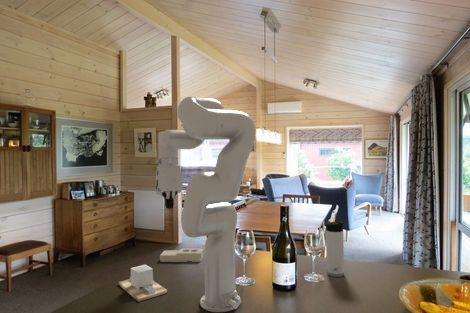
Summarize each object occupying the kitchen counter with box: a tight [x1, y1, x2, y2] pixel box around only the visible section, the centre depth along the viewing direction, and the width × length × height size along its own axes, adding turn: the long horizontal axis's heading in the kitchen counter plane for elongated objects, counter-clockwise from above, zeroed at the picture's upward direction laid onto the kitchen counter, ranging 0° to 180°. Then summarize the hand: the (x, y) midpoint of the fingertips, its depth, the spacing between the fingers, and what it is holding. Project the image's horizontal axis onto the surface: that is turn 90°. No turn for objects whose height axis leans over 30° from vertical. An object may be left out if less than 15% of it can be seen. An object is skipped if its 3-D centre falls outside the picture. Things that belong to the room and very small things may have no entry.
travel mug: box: [325, 221, 345, 278], centre depth 124 cm, size 6×7×20 cm
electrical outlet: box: [159, 248, 204, 263], centre depth 145 cm, size 7×4×18 cm
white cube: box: [130, 264, 154, 290], centre depth 114 cm, size 6×6×6 cm
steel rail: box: [129, 276, 156, 294], centre depth 114 cm, size 16×2×1 cm, turn 39°
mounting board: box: [118, 278, 168, 303], centre depth 114 cm, size 18×10×1 cm, turn 39°
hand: (169, 208), depth 131 cm, fingers closed
